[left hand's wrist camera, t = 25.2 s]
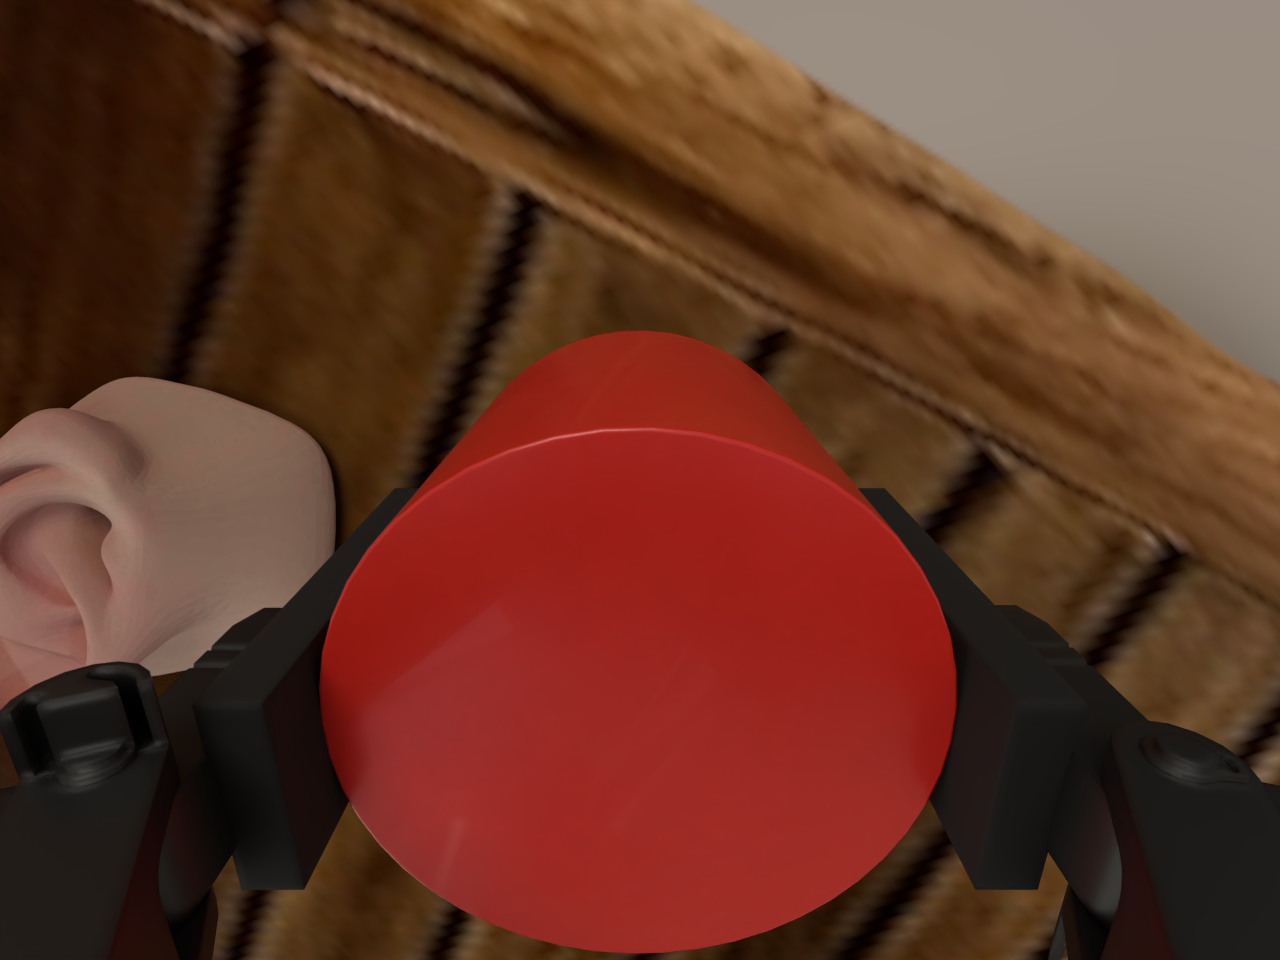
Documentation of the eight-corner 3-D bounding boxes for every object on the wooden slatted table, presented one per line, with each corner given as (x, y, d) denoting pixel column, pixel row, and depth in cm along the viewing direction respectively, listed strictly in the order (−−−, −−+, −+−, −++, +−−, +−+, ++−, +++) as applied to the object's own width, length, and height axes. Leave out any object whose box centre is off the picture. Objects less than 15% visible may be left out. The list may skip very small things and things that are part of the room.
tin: (885, 516, 16) (1082, 745, 9) (631, 711, 18) (625, 1030, 11) (648, 246, 14) (658, 263, 7) (390, 499, 16) (186, 720, 9)
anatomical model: (239, 389, 19) (337, 729, 23) (306, 362, 22) (380, 658, 26) (-229, 426, 19) (-51, 754, 23) (-86, 393, 23) (45, 681, 27)
